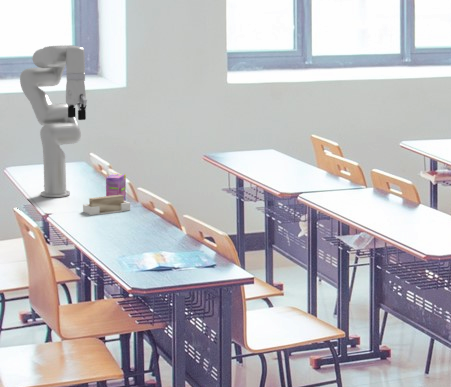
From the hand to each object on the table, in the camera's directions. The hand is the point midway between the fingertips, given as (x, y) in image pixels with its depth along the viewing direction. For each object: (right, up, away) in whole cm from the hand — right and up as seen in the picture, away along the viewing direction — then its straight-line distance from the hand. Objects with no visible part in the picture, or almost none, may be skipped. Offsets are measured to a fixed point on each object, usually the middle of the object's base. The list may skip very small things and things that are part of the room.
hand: (76, 118), depth 421 cm
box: (+15, -35, +11) cm, 40 cm away
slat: (+13, -38, -6) cm, 41 cm away
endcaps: (+13, -38, -6) cm, 41 cm away
